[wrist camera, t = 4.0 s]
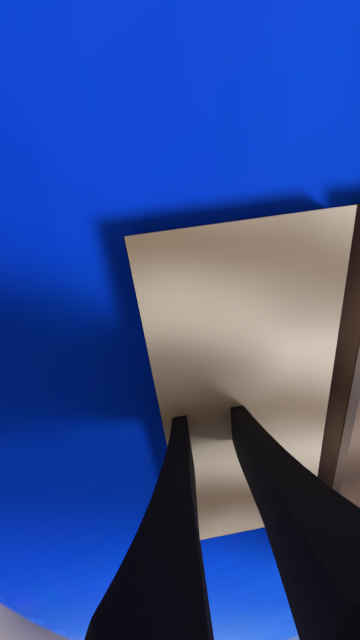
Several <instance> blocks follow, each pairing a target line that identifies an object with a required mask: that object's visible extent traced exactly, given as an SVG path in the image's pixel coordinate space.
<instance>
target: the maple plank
mask: <svg viewBox="0 0 360 640" xmlns="http://www.w3.org/2000/svg"><path fill="white" fill-rule="evenodd" d="M356 209H357V205H350V206H341V207H333V208H325V209H317V210H310V211H303V212H296V213H288V214H281V215H274V216H267V217H259V218H252V219H245V220H237V221H230V222H223V223H216V224H208V225H201V226H194V227H187V228H179V229H172V230H165V231H157V232H150V233H143V234H136V235H129V236H125V237H124V238H125V243H126V248H127V253H128V257H129V262H130V267H131V272H132V277H133V282H134V287H135V292H136V296H137V301H138V306H139V311H140V316H141V321H142V326H143V331H144V335H145V340H146V345H147V350H148V355H149V360H150V365H151V369H152V374H153V379H154V384H155V389H156V394H157V399H158V404H159V408H160V413H161V418H162V423H163V428H164V433H165V438H166V443H167V446H168V442H169V437H170V431H171V423H172V419H173V417H178V416H184V415H187V421H188V428H189V434H190V441H191V448H192V454H193V461H194V468H195V481H196V496H197V510H198V524H199V535H200V540H203V539H208V538H213V537H218V536H223V535H228V534H233V533H238V532H243V531H248V530H253V529H258V528H263V527H265V526H264V523H263V521H262V518H261V515H260V513H259V510H258V508H257V505H256V503H255V501H254V498H253V496H252V493H251V491H250V488H249V486H248V483H247V481H246V478H245V476H244V473H243V471H242V469H241V466H240V464H239V461H238V458H237V455H236V451H235V448H234V444H233V441H232V429H231V412H230V407H236V406H242V405H243V406H245V407H246V409H247V410H248V411H249V412H250V413H251V414H252V416H253V417H254V418H255V419H256V420H257V421H258V422H259V423H260V424H261V426H262V427H263V428H264V429H265V430H266V431H267V432H268V433H269V434H270V435H271V436H272V437H273V438H274V439H275V440H276V441H277V442H278V443H279V444H280V445H281V446H282V447H283V448H284V449H285V450H287V451H288V452H289V453H290V454H291V455H292V456H293V457H294V458H295V459H297V460H298V461H299V462H300V463H301V464H302V465H303V466H305V467H306V468H307V469H308V470H309V471H311V472H312V473H313V474H314V475H316V476H317V475H318V468H319V462H320V455H321V448H322V441H323V434H324V427H325V421H326V414H327V407H328V400H329V393H330V386H331V380H332V373H333V366H334V359H335V352H336V346H337V339H338V332H339V325H340V318H341V311H342V305H343V298H344V291H345V284H346V277H347V270H348V264H349V257H350V250H351V243H352V236H353V230H354V223H355V216H356Z"/></svg>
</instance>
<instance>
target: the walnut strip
mask: <svg viewBox="0 0 360 640" xmlns="http://www.w3.org/2000/svg"><path fill="white" fill-rule="evenodd" d="M354 205H357V209H356V216H355V223H354V230H353V236H352V243H351V250H350V257H349V264H348V270H347V277H346V284H345V291H344V298H343V305H342V311H341V318H340V325H339V332H338V339H337V346H336V352H335V359H334V366H333V373H332V380H331V386H330V393H329V400H328V407H327V414H326V421H325V427H324V434H323V441H322V448H321V455H320V462H319V468H318V475H317V477H318V478H319V479H321V480H322V481H323V482H325V483H326V484H327V485H329V486H330V487H331V488H332V489H334V490H335V491H337V492H338V493H339V494H341V495H342V496H344V497H345V498H347V499H348V500H349V501H351V502H352V503H354V504H355V505H357V506H358V507H359V508H360V204H354Z"/></svg>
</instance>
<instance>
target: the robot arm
mask: <svg viewBox="0 0 360 640" xmlns="http://www.w3.org/2000/svg"><path fill="white" fill-rule="evenodd" d="M230 412H231V429H232V441H233V444H234V448H235V451H236V455H237V458H238V461H239V464H240V466H241V469H242V471H243V473H244V476H245V478H246V481H247V483H248V486H249V488H250V491H251V493H252V496H253V498H254V501H255V503H256V505H257V508H258V510H259V513H260V515H261V518H262V521H263V523H264V526H265V529H266V532H267V535H268V538H269V542H270V545H271V548H272V551H273V554H274V557H275V560H276V563H277V567H278V570H279V573H280V576H281V579H282V583H283V586H284V589H285V592H286V596H287V599H288V602H289V606H290V609H291V612H292V615H293V619H294V622H295V625H296V629H297V632H298V635H299V639H300V640H360V508H359V507H358V506H357V505H355V504H354V503H352V502H351V501H349V500H348V499H347V498H345V497H344V496H342V495H341V494H339V493H338V492H337V491H335V490H334V489H332V488H331V487H330V486H329V485H327V484H326V483H325V482H323V481H322V480H321V479H319V478H318V477H317V476H316V475H314V474H313V473H312V472H311V471H309V470H308V469H307V468H306V467H305V466H303V465H302V464H301V463H300V462H299V461H298V460H297V459H295V458H294V457H293V456H292V455H291V454H290V453H289V452H288V451H287V450H285V449H284V448H283V447H282V446H281V445H280V444H279V443H278V442H277V441H276V440H275V439H274V438H273V437H272V436H271V435H270V434H269V433H268V432H267V431H266V430H265V429H264V428H263V427H262V426H261V424H260V423H259V422H258V421H257V420H256V419H255V418H254V417H253V416H252V414H251V413H250V412H249V411H248V410H247V409H246V407H245V406H243V405H242V406H236V407H230ZM85 640H214V637H213V629H212V622H211V615H210V608H209V601H208V594H207V586H206V579H205V572H204V565H203V558H202V550H201V543H200V535H199V524H198V510H197V496H196V481H195V468H194V461H193V454H192V448H191V441H190V434H189V428H188V421H187V415H184V416H178V417H173V419H172V423H171V431H170V437H169V442H168V446H167V450H166V454H165V458H164V462H163V465H162V468H161V471H160V475H159V478H158V481H157V484H156V487H155V489H154V492H153V495H152V497H151V500H150V503H149V505H148V508H147V510H146V512H145V515H144V517H143V519H142V522H141V524H140V526H139V529H138V531H137V533H136V535H135V537H134V539H133V541H132V543H131V545H130V547H129V549H128V552H127V554H126V556H125V558H124V560H123V562H122V564H121V566H120V568H119V570H118V571H117V573H116V575H115V577H114V579H113V581H112V583H111V584H110V586H109V588H108V590H107V591H106V593H105V595H104V597H103V599H102V600H101V602H100V604H99V606H98V607H97V609H96V611H95V613H94V615H93V616H92V618H91V621H90V624H89V627H88V630H87V633H86V636H85Z"/></svg>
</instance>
